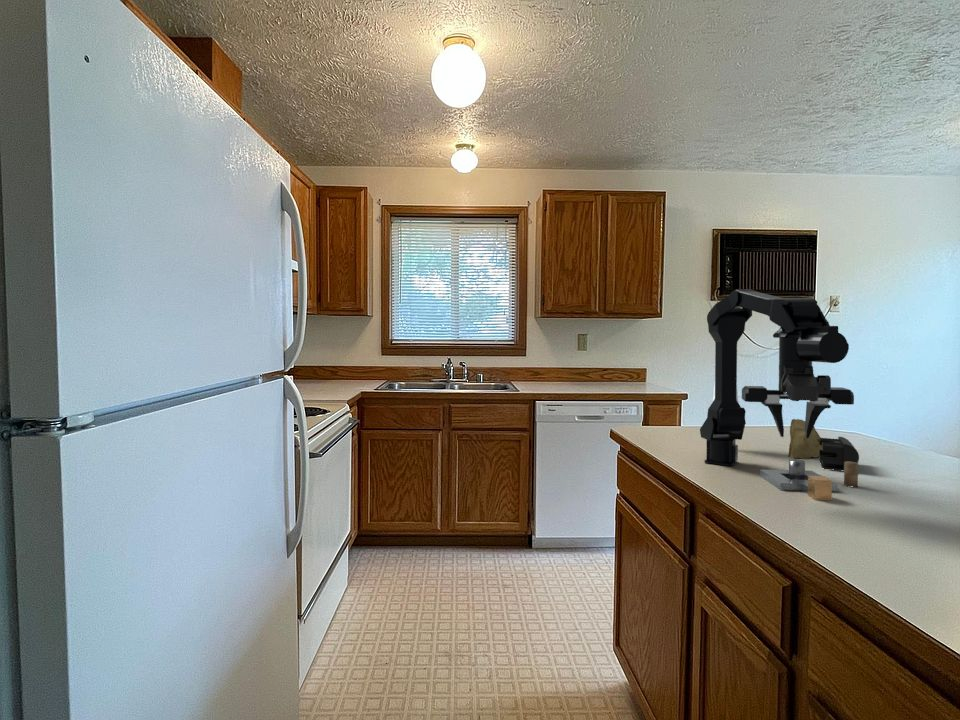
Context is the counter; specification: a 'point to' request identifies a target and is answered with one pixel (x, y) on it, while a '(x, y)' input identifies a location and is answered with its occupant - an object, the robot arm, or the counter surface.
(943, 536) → the counter surface
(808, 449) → the rock
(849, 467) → the dowel
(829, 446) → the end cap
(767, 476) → the flange plate
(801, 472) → the post
